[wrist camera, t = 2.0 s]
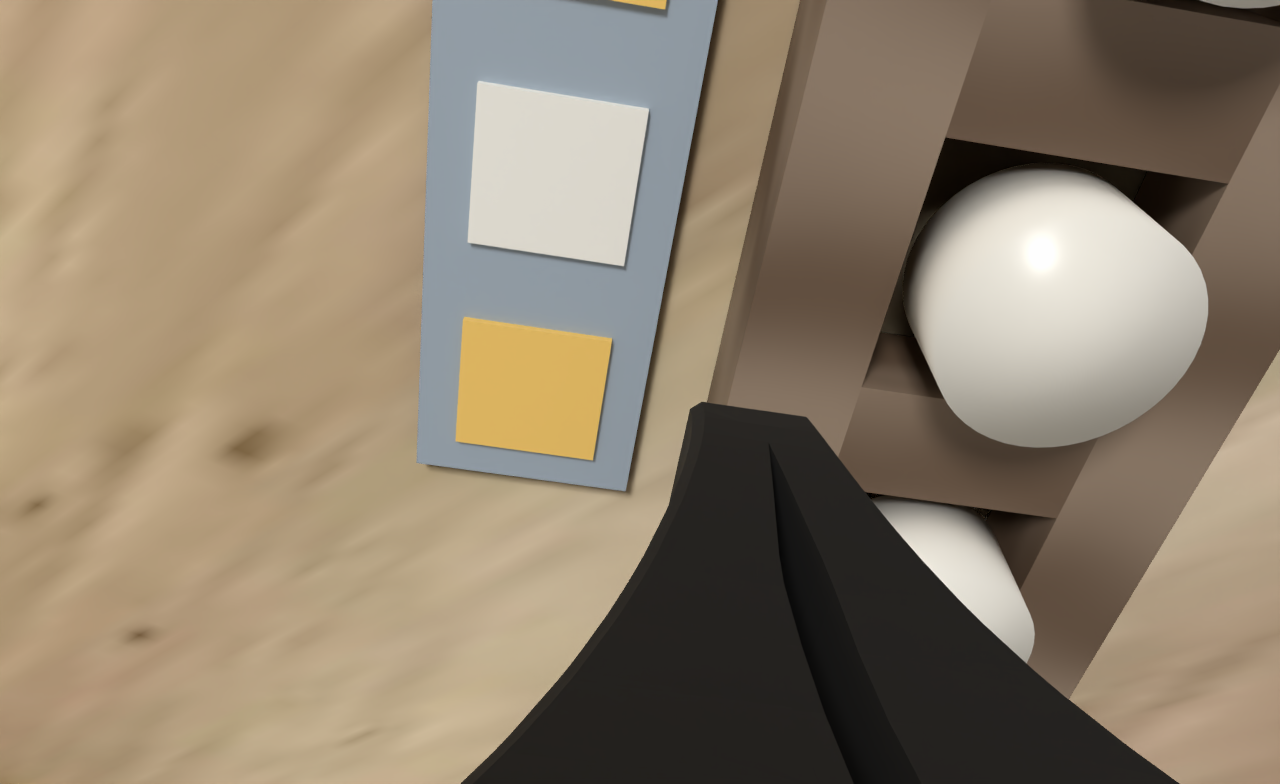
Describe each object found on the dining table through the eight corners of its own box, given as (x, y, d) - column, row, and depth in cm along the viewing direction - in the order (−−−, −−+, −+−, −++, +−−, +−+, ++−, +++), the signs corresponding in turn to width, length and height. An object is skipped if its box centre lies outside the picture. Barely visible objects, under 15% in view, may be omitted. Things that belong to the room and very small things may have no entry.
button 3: (833, 479, 20) (852, 557, 18) (1027, 506, 21) (1068, 586, 19) (785, 621, 23) (798, 705, 21) (960, 644, 23) (990, 728, 21)
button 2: (946, 144, 16) (988, 195, 14) (1184, 183, 17) (1259, 239, 15) (874, 358, 19) (900, 429, 17) (1083, 389, 19) (1137, 463, 17)
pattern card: (448, -320, 15) (441, -323, 14) (764, -260, 15) (767, -261, 14) (420, 452, 23) (415, 467, 22) (626, 481, 23) (625, 495, 22)
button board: (974, -752, 12) (1041, -871, 10) (1687, -589, 13) (1893, -668, 11) (650, 644, 26) (649, 719, 24) (999, 687, 26) (1029, 765, 24)
